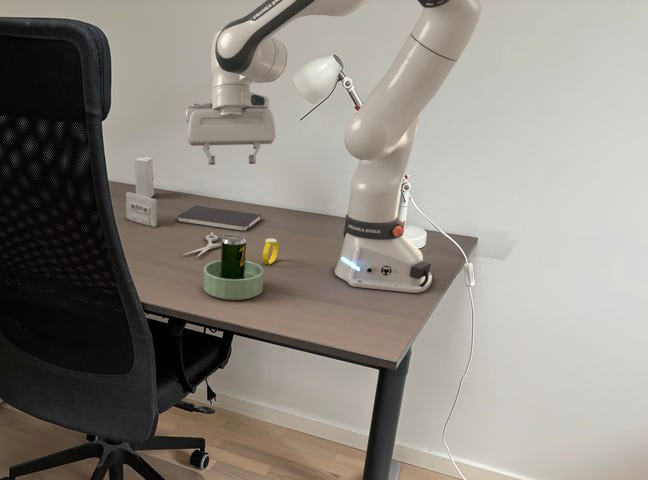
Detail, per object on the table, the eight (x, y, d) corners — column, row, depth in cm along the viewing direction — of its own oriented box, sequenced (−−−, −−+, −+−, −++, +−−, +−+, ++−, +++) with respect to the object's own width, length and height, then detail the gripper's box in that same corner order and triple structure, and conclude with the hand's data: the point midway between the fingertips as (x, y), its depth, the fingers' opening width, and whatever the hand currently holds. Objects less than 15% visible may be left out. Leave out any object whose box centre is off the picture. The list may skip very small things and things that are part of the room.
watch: (270, 258, 186) (271, 235, 184) (280, 260, 185) (281, 237, 182) (259, 265, 182) (260, 242, 179) (269, 267, 180) (271, 244, 178)
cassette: (158, 226, 210) (158, 199, 206) (153, 227, 209) (153, 200, 205) (129, 217, 217) (129, 191, 213) (125, 218, 216) (124, 192, 212)
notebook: (260, 219, 216) (194, 210, 224) (261, 214, 215) (194, 205, 223) (245, 231, 206) (176, 221, 214) (245, 226, 205) (176, 216, 213)
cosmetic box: (148, 199, 235) (147, 161, 229) (135, 198, 236) (134, 160, 230) (154, 194, 240) (153, 157, 234) (141, 193, 241) (140, 156, 235)
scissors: (245, 239, 197) (206, 259, 182) (245, 241, 198) (206, 262, 183) (211, 232, 202) (170, 251, 187) (211, 235, 203) (170, 254, 188)
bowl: (271, 285, 170) (272, 265, 167) (249, 306, 159) (250, 284, 157) (217, 276, 175) (218, 255, 173) (193, 295, 164) (193, 273, 162)
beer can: (218, 291, 165) (220, 239, 159) (221, 282, 169) (223, 231, 164) (242, 292, 164) (245, 240, 158) (245, 284, 169) (247, 233, 163)
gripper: (185, 100, 167) (187, 162, 168) (276, 98, 168) (277, 160, 169) (185, 107, 173) (187, 167, 174) (272, 106, 174) (273, 165, 175)
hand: (232, 163), depth 171 cm, fingers open, 8 cm apart
